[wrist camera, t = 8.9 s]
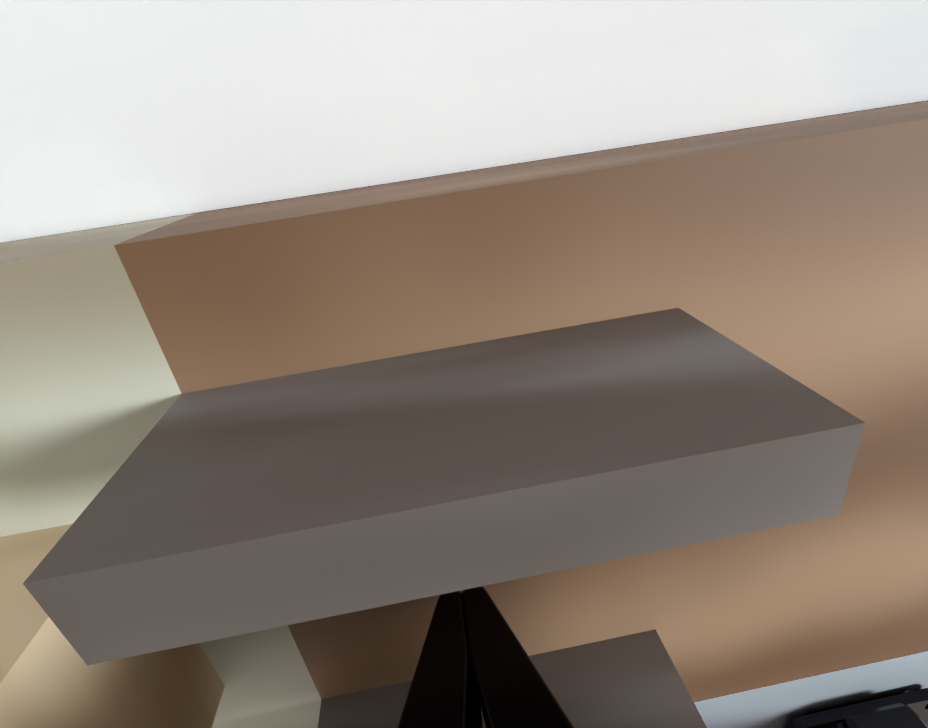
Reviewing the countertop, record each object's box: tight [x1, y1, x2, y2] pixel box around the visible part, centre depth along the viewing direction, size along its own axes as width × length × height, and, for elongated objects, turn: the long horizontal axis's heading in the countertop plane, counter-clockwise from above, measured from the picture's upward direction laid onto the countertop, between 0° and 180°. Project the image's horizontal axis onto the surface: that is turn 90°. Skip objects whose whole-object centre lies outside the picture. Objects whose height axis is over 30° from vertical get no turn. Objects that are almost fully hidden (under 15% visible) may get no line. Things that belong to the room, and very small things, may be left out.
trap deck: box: [0, 101, 928, 728], centre depth 9 cm, size 14×35×6 cm, turn 98°
